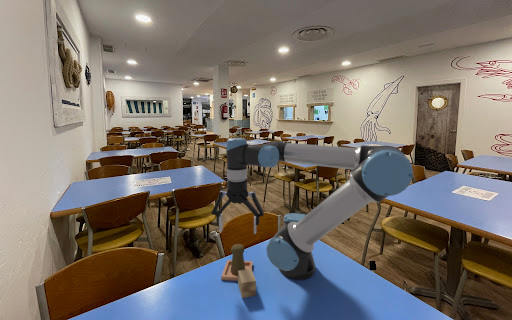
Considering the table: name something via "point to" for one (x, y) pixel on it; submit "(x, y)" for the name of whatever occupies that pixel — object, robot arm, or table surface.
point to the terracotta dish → (227, 270)
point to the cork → (237, 259)
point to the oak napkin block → (246, 283)
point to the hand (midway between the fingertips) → (238, 231)
